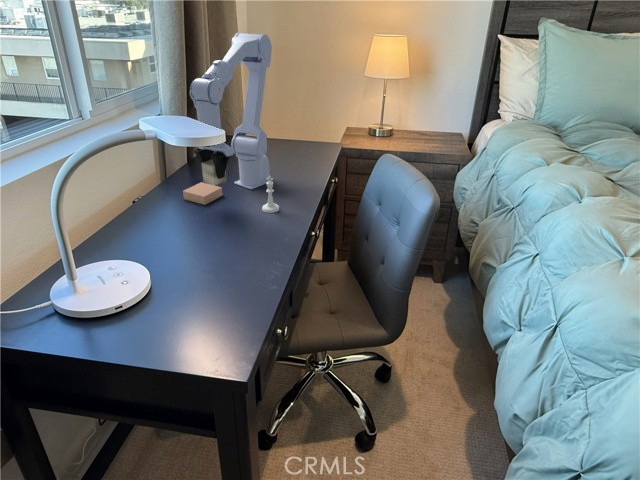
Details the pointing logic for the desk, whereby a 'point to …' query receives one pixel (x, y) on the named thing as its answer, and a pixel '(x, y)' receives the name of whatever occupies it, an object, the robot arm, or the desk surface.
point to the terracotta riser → (202, 193)
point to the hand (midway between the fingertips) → (214, 175)
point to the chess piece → (270, 199)
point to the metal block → (211, 173)
